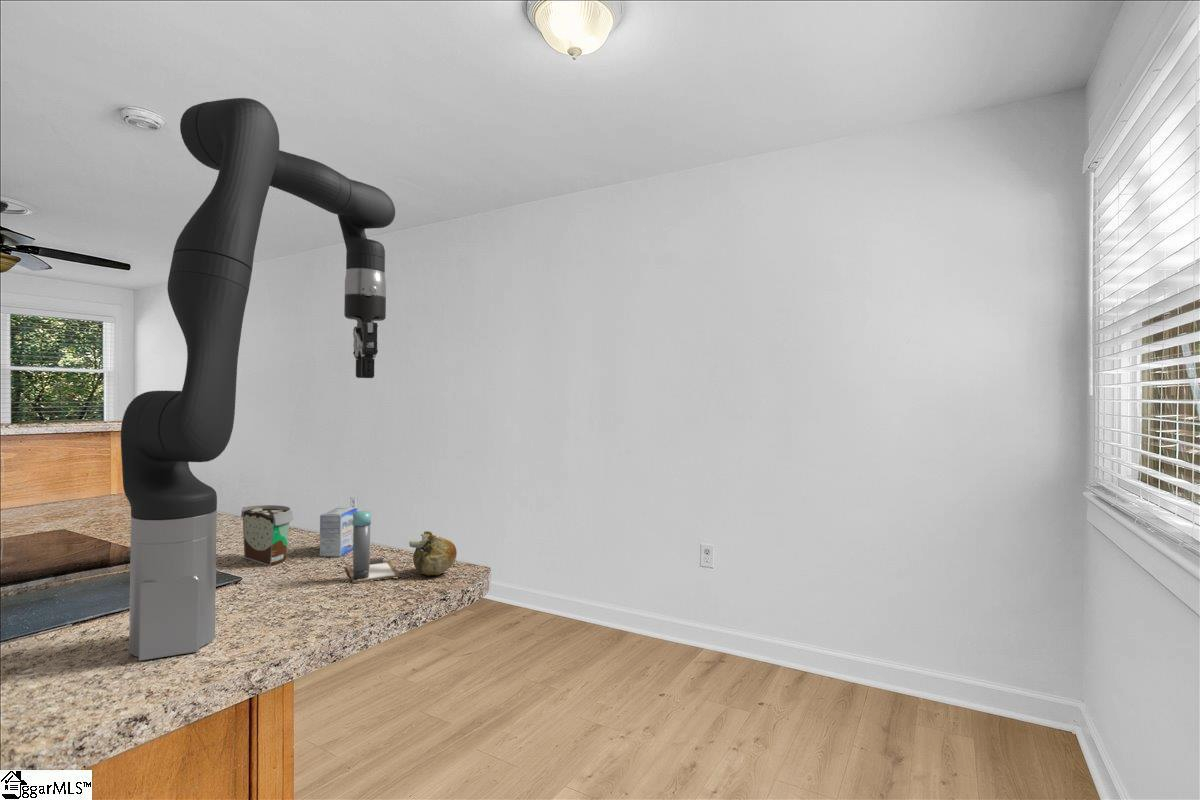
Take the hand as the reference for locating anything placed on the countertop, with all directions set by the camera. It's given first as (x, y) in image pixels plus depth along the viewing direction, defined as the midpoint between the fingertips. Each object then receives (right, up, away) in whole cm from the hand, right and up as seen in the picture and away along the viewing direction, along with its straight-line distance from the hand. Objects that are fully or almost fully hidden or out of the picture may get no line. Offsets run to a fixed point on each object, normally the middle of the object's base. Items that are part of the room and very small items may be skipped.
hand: (364, 378), depth 118 cm
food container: (-19, -36, +1) cm, 40 cm away
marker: (+3, -36, -10) cm, 38 cm away
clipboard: (+4, -36, -6) cm, 37 cm away
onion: (+15, -37, -6) cm, 40 cm away
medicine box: (-8, -36, +7) cm, 38 cm away
